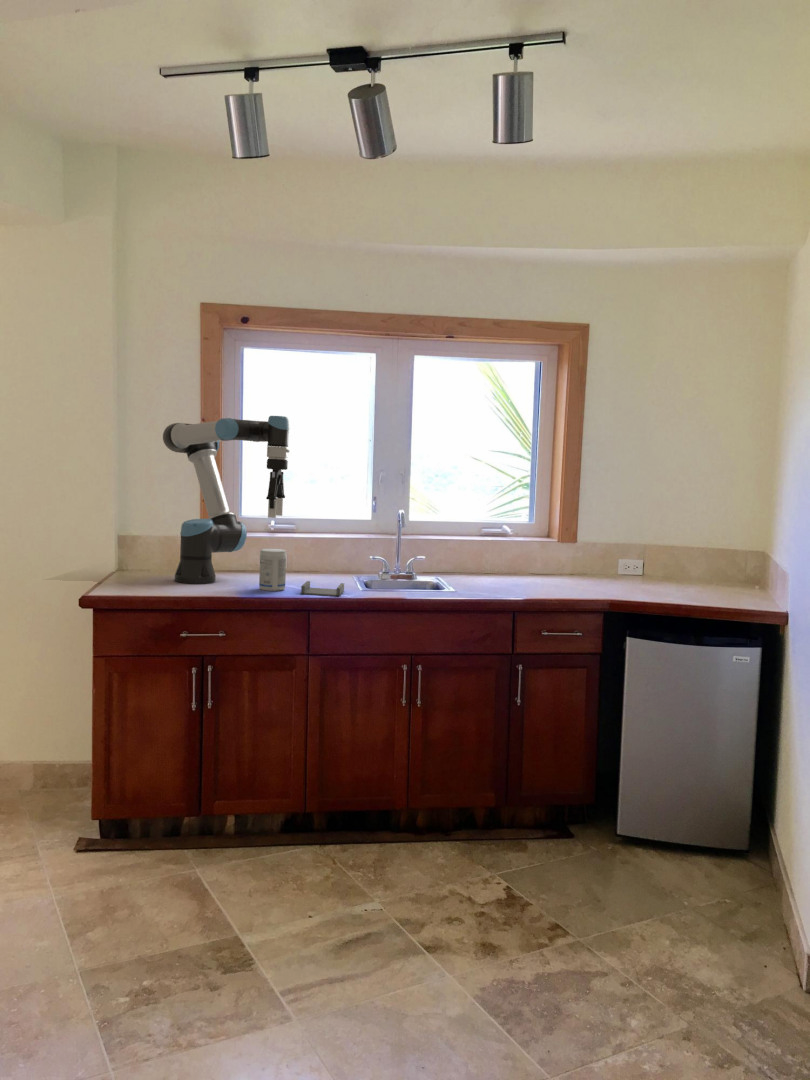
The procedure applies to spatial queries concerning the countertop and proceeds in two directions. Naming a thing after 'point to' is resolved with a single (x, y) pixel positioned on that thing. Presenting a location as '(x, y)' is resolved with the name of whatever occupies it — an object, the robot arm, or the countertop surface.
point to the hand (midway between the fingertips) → (275, 516)
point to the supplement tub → (272, 569)
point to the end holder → (321, 590)
